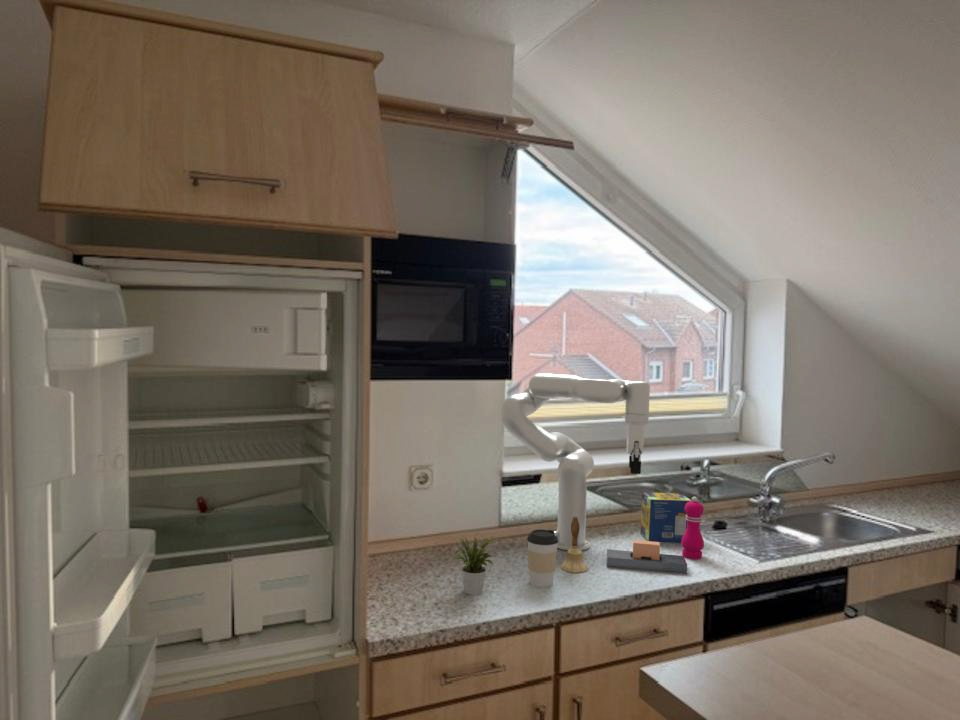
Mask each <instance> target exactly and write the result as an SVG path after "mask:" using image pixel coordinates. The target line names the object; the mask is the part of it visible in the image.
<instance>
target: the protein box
mask: <svg viewBox="0 0 960 720" xmlns="http://www.w3.org/2000/svg"><path fill="white" fill-rule="evenodd" d="M689 501H692V499H690V498H689V497H687V496H686V495H685V494H683V493H679V492H675V493H674V492H641V509H640V510H641V513H640V514H641V515H640V532H639V533H640V535H641V534H642V535H643V536H644V537H643V536H642V535H641V536H642V537H643V538H644V539H645V541H652V542H662V543H661V544H663V543H664V544H681V541H682V537H683V535H684V533H685V531H686V529H687V520H686V515H687V513H686V512H685V505H686V503H687V502H689ZM666 542H667V543H666Z"/></svg>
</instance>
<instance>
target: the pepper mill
mask: <svg viewBox="0 0 960 720" xmlns="http://www.w3.org/2000/svg"><path fill="white" fill-rule="evenodd" d="M704 511H705V509H704V506H703V504H702V503H701V502H699V501H698V498H697V497H696V496H693V497H691V501H689V502H687V503H686V505H685V512H686V513H687V515H686V520H687V529H686V531H685V533H684V535H683V537H682V541H681V543H680V544H681V546H682V547H683V549H682V552H681V553H682V554H681V556H684V558H685V559H690V560H701V559H702V557H703V551H702V550H703V549H704V548H705V542H704V538H703V535H702V533H701V528H700V526H701V522H702V519H703V517H702V515H703V513H704Z"/></svg>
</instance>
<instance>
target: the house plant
mask: <svg viewBox="0 0 960 720" xmlns="http://www.w3.org/2000/svg"><path fill="white" fill-rule="evenodd" d="M478 533H479V532H476V534H475V536H474V539H473V544H472V545H473V546H472V548H470V545H469V542H468V540H467V538H466V537H465V536H464V535H462V537H463V538H464V539H465V540H464V539H463V538H462V537H461V536H458V540H460V541H461V543H462V544H458V546H460V547H458V549H459V550H460V551H461V552H462V554H463V556H464V557H463V556H462V555H461V554H460V553H459V554H458V553H456V554H454V555H452V557H453V558H455V560H459V561H462V562H464V564H465V565H463V566H462V567H461V568H460V570H461V579H462V585H463V586H462V588H463V592H464V593H465V594H467V595H471V596H472V595H473V596H475V595H477V596H478V595H481V594H482V593H483V590H484V585H485V580H486V575H487V568H488V563H489V564H491V565H492V566H494V562H493V561H492V560H490V559H487V558H491V557H492V558H493V557H494V556H493V555H492V554H490V553H489V552H485V551H486V550H487V549H488V548H489V547H491V546H492V545H493V546H494V543H492V544H490V545H489V543H490V541H491V539H493V538H494V535H493V536H490V537H489V538H487V539H486V540H485V541H484V542H483V544H482V545H480V547H479V548H478V546H479V544H480V542H482V541H483V540H484V538H482V539H481V540H480V541H479V542H478V538H477V536H478ZM447 538H448V539H449V538H450V539H452V540H454V541H456V543H459V542H458V540H456V539H455V538H454V537H447ZM488 545H489V546H488ZM487 546H488V547H487ZM486 547H487V548H486ZM464 549H465V550H464Z"/></svg>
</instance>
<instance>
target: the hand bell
mask: <svg viewBox="0 0 960 720" xmlns="http://www.w3.org/2000/svg"><path fill="white" fill-rule="evenodd" d="M571 533H572V549H569V550H567V554H566V557H565V560H564V562H563V563H562V564H561V565H560V568H561V569H562V570H563V571H565V572H567V573H573V574H575V573H577V574H581V573H585V572H588V570H589V568H588V566H587V564H586V563H585V561H584V559H583V550H582V551H581V550H579V549H578V544H577V537H578V533H579V522H578V518H577V517H573V520H572V523H571Z"/></svg>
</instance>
